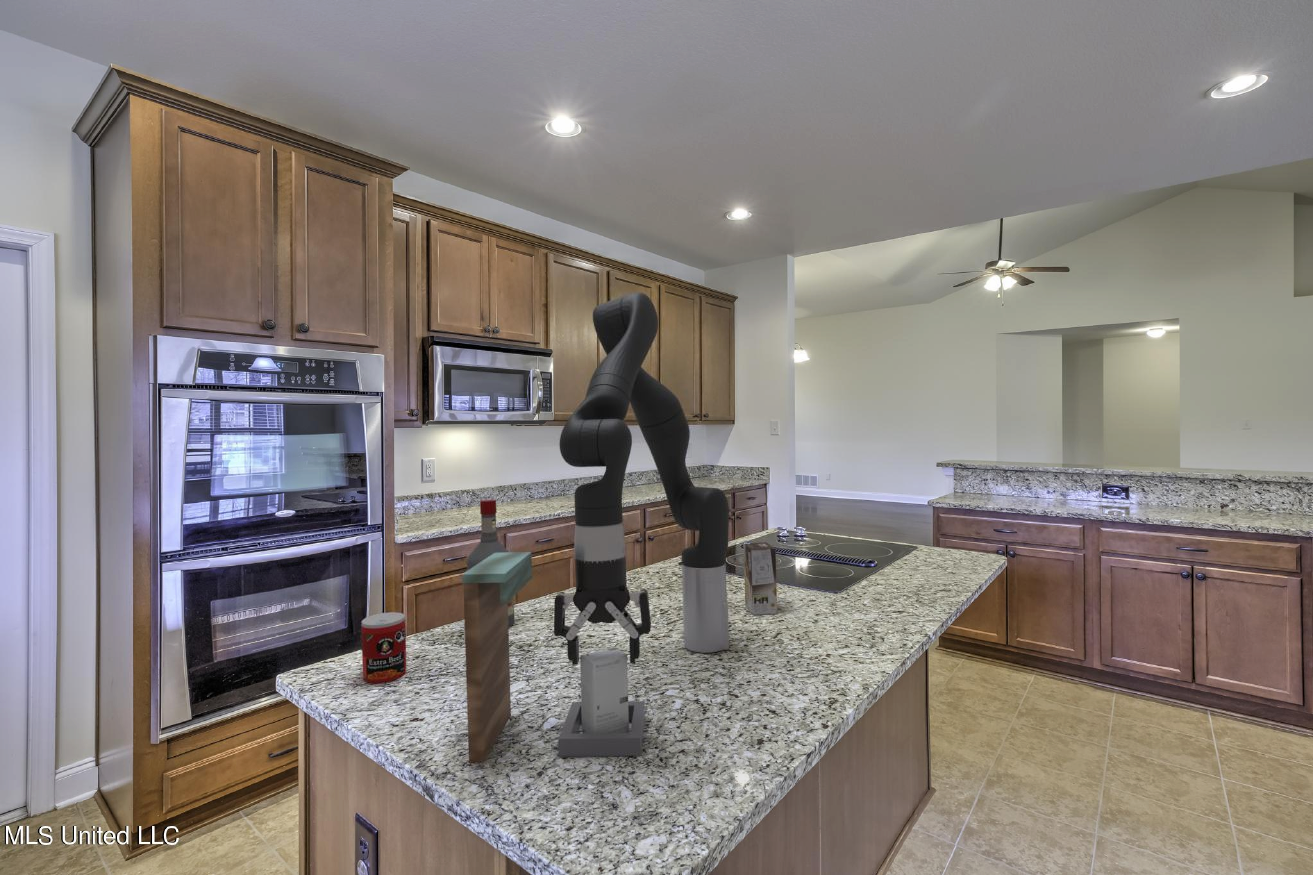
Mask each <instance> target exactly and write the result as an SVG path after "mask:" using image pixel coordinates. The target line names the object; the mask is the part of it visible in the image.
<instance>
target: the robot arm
mask: <svg viewBox="0 0 1313 875" xmlns="http://www.w3.org/2000/svg"><path fill="white" fill-rule="evenodd" d="M657 313H658V312H657V310H656V307H655V305H654V303H653V301H652V299H651V298H650V297H649V296H648V295H647V294H646V293H643V292H631V293H629V294H625V295H622V296H620V297H617V298H614V299H611V300H608V301H606V302H603V303H600V304H597V305H596V306H595V307H594V308H593V311H592V323H593V328H594V330H595V333H596V335H597V338H598V340H599V342H600V345H601V346H602V349H603V351H604V353H605V355H606V356H605V357H604V358H603V360H602V361H601V362H600V363H599V364H598V365H597V367H596V368H595V370H594V372H593V374H592V375H591V378H590V381H589V384H588V387H587V390H586V392H585V393H586V394H585V397H584V399H583V400H582V401H581V403H579V405H578V407H577V408H576V409H575V410H574V411H573V413H572V414H571V415H570V417H569V418H568V420H567V421H566V422H565V424H564V426H563V428H562V430H561V433H560V437H559V451H560V454H561V457H562V459H563V460H564V462H565V463H566V464H568V465H569V466H571V467H574V468H593V467H594V468H598V467H599V468H601V467H603V468H604V467H605V471H604V474H603V476H602V477H601V478H600V479H599V480H596V481H592V482H587V483H583V484H581V485H579V486H577V488H576V489H575V490H574V515H575V516H574V518H575V519H574V521H575V526H574V527H575V529H574V530H575V531H574V539H573V540H574V544H573V545H574V547H573V554H574V564H575V565H574V566H575V567H574V568H575V570H574V571H575V592H574V593H565V592H564V591H559V592H558V593H557V594H556V596H555V598H554V606H553V608H554V609H553V610H554V612H553V614H554V615H553V635H554V636H555V637H563V638H564V639H565V640H566V644H567V645H566V646H567V648H566V649H567V659H568V661H570V662H571V663H572V665H573V666H577V665H578V664H579V662H580V650H579V649H580V647H579V646H580V644H579V642H580V641H579V640H580V639H579V635H578V633H579V632H580V630H581V629H582V628H583V626H584V625H585V624H586V622H589V623H591V624H592V625H595V624H601V623H604V624H613V623H614V622H617V623H618V624H619V625H620V627H621V628H622V629H623V630H625V631H626V633H628V634H627V635H629V639H628V640H629V642H628V643H629V663H630V664H635V663H636V660H639V658H640V654H641V647H640V645H641V644H640V637H641V636H642V635H645V634H646V635H647V634H648V635H649V634H650V632H651V629H652V622H651V620H652V619H651V611H650V610H651V609H650V600H649V591H648V590H647V589H645V588H643V589H641V590H640V591H635V592H630V591H629V588H628V584H627V583H628V582H627V560H626V559H627V558H626V537H625V535H626V534H625V530H624V523H623V522H624V521H623V520H624V518H623V490H624V489H623V488H624V480H625V477H626V471H627V467H628V463H629V459H630V455H631V451H632V444H633V439H632V438H633V437H632V432H631V430H630V429H631V428H630V427H629V426H628V425H627V423H626V422H625V421H624V420H625V419H626V416H627V415H628V411H629V405H630V406H631V409H632V411H633V415H634V416H635V418H636V421H637V424H638V427H639V430H640V431H641V433H642V437H643V438H644V441H645V443H646V444H647V447H648V449H649V451H650V453H651V455H652V458H653V461H654V464H655V466H656V469H657V472H658V474H659V477H660V480H661V483H662V486H663V490H664V493H665V496H666V499H667V502H668V506H669V510H670V512H671V515H672V517H673V519H674V521H675V523H676V524H677V525H678V527H680V528H682V529H684V530H688V531H695V532H699V533H698V541H697V543H696V544H695V545H692V546H689V547H686V548H684V549H683V550H682V552H681V580H682V587H681V589H682V615H683V617H682V620H683V621H682V622H683V624H682V625H683V646H684V648H685V649H686V650H689V651H692V652H695V653H703V654H704V653H707V654H708V653H715V652H721V651H724V650H725V651H728V650H730V631H729V630H730V629H729V628H730V626H729V625H730V624H729V604H728V599H727V597H728V595H727V594H728V593H727V565H726V564H727V563H726V562H727V560H726V559H727V558H726V557H727V553H728V549H729V532H730V531H729V529H730V528H729V526H730V524H729V522H730V510H729V501H728V498H727V495H726V493H725V492H724V491H723V490H721V488H718V487H708V486H707V487H706V486H695V484H694V483H693V482H692V480H691V477H690V475H689V471H688V469H687V465H686V457H687V453H688V450H689V449H688V448H689V443H690V436H691V435H690V434H691V431H690V426H689V423H688V420H687V417H686V414H685V412H684V409H683V407H682V404H681V401H680V400H679V398H678V397H677V396H676V395H675V394H674V392H672V391H671V390H670V389H669V388H668V387H667V386H665V385H664V384H663V383H662V382H660V381H658V380H657V379H656V378H655V377H653V376H652V375H651V374H649V373H648V372H647V371H646V370H645V369H644V368H643V367H642V365H643V363H645V362H644V361H645V360H646V357H647V355H648V353H649V351H650V349H651V347H652V345H653V342H654V341H655V339H656V336H657V335H658V334H657V333H658V329H659V328H658V327H659V318H658V314H657ZM630 601H632V602H633V603H634V606H636V608H639V609H640V610H639V611H640V618H641V620H640V621H641V622H640V623H639V624H637V623H636V622H635V620H634V619H633V618H632V615H630V613H629V611H627V609H626V608H627V606H628V604H629V603H630ZM571 603H573V604H574V606H575V607H576V608H577V610H578V611H579V612H580V613H579V614H578V616H577V617H576V619H574V621H573V623H572V624H571V626H568V625H566V610H568V608H569V607H570V605H571Z"/></svg>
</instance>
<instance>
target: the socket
mask: <svg viewBox="0 0 1313 875" xmlns="http://www.w3.org/2000/svg"><path fill="white" fill-rule="evenodd" d="M645 706H646V705H645V700H628V714H629V722H631V724H630V726H631V727H630V731H629V733H582V732H581V733H578V731H579V728H580V725H581V724H582V714H581V701H572V702H571V704H570V706H569V710H568V713H567V715H566V718H565V721H564V723H563V726H562V728H561V731H560V733H559V736H558V739H557V740H558V741H557V743H558V747H557V748H558V757H559V758H562V757H564V758H567V757H568V758H569V757H570V758H572V757H573V758H574V757H583V758H585V757H640V756H642V748H643V738H644V730H645V720H646V708H645Z"/></svg>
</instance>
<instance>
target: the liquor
mask: <svg viewBox="0 0 1313 875" xmlns="http://www.w3.org/2000/svg"><path fill="white" fill-rule="evenodd" d="M479 504H480V505H479V506H480V507H479V508H480V510H479V513H480V515H481V516H480V521H481V522H480V523H481V536H480V540H479V541H480V542H478V544H477V546H475V548H474V549H473V550H472V551H471V553H470V554H469V555H468V558H467V561H466V571H468V570H469V569H471V568H472V567H474V566H475V565H477V564H479V563H480V562H482V561H483V560H485V559H486V558H488V557H489V556H491V555H492V554H494V553H505V552H509V550H508V549H507V548H506V547H505V546H503V544H502V543H501V542H500V541H499V537H498V534H497V533H498V532H497V513H498V512H497V500H496V499H484V500H480V501H479ZM515 619H516V618H515V596H514V597H513V598H512V599H511V600H510V601H509V602H508V627H509V628H510V626H511V627H513V625H514V623H515V621H516V620H515Z"/></svg>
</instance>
